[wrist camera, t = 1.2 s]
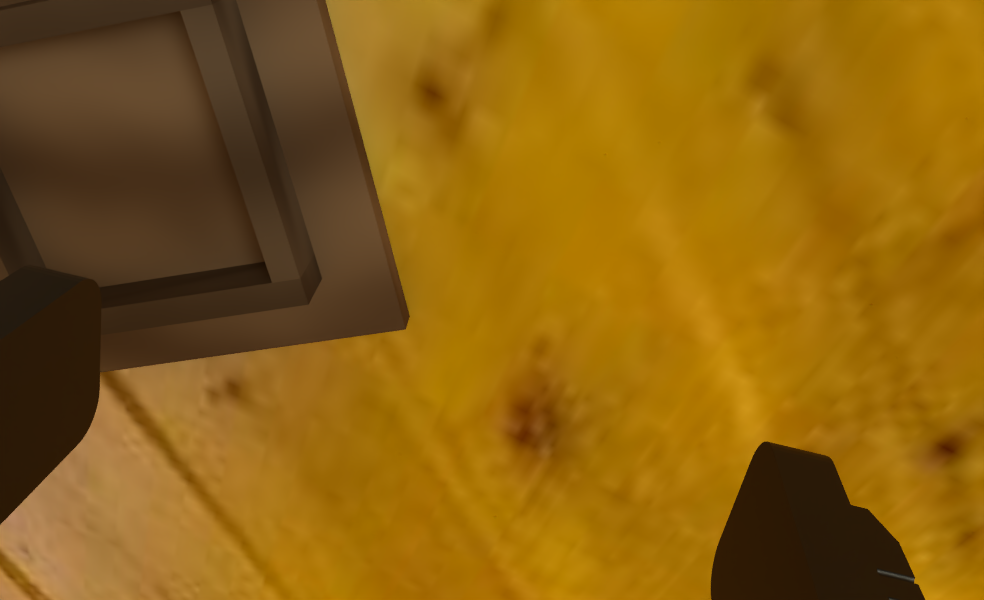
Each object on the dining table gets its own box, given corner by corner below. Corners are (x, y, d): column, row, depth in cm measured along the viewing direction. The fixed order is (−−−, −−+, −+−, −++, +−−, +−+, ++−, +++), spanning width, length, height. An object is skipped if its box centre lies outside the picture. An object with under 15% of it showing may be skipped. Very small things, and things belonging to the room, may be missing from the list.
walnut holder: (-180, -43, 29) (-253, -31, 27) (285, -148, 27) (255, -145, 24) (26, 370, 36) (-16, 413, 34) (409, 316, 34) (396, 357, 32)
